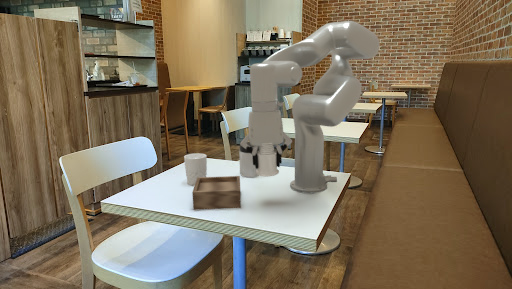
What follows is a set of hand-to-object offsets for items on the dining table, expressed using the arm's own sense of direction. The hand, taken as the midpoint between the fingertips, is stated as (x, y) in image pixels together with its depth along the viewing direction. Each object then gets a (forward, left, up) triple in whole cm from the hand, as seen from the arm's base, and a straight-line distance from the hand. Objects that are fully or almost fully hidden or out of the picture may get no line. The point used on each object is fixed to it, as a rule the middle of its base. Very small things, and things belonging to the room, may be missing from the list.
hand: (267, 165), depth 108 cm
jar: (+4, -29, -12) cm, 32 cm away
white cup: (+24, -21, -12) cm, 34 cm away
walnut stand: (+15, -3, -12) cm, 20 cm away
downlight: (0, 0, -2) cm, 2 cm away
